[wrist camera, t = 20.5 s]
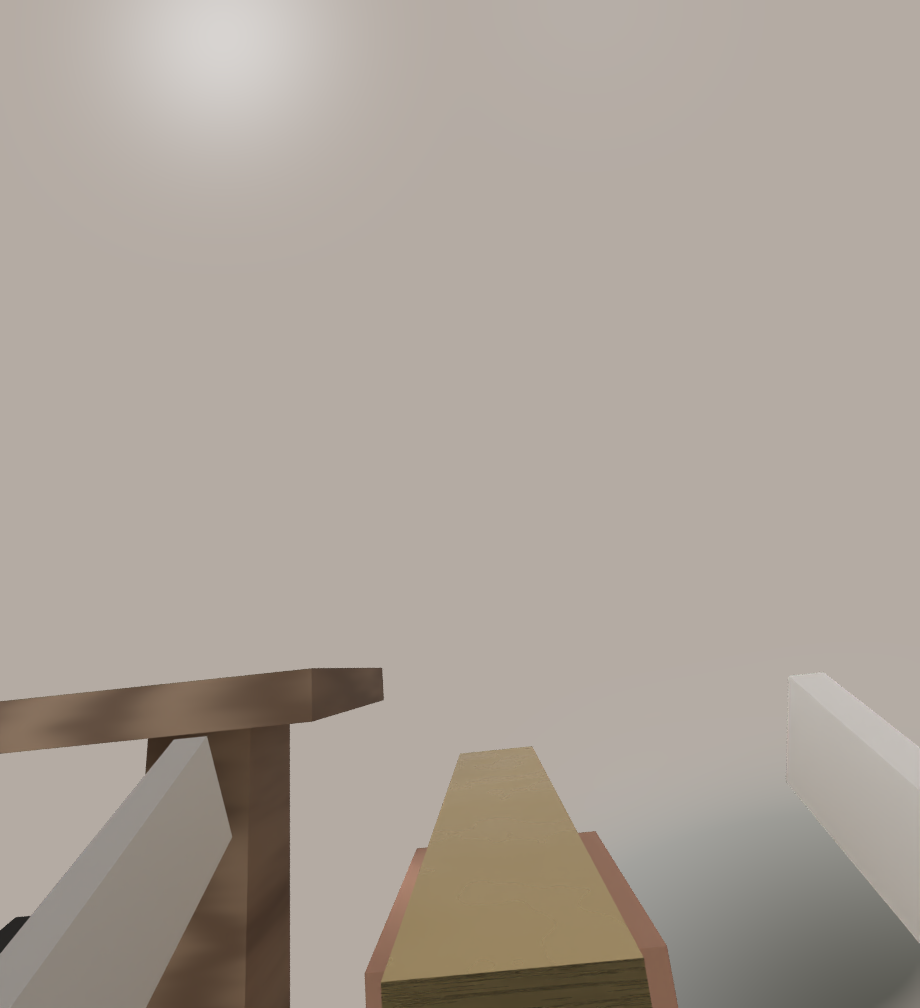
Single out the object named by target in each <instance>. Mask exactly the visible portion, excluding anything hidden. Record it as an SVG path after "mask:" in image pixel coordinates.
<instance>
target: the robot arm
mask: <svg viewBox="0 0 920 1008" xmlns="http://www.w3.org/2000/svg"><path fill="white" fill-rule="evenodd" d="M786 766H787V767H786V783H787V784H788V785H789V786H790V788H791V789H792V790H793V791H794V792H795V794H796V795H797V796H798V797H799V798H800V800H802V802H803V803H804V804H805V806H806V807H807V808H808V809H809V810H810V812H811V813H812V814H813V815H814V816H815V818H816V819H817V820H818V821H819V822H820V824H821V825H822V826H823V827H824V829H825V830H826V831H827V832H828V833H829V835H830V836H831V837H832V838H833V839H834V841H835V842H836V843H837V844H838V845H839V847H840V848H841V849H842V850H843V851H844V853H845V854H846V855H847V856H848V858H849V859H850V860H851V861H852V862H853V864H854V865H855V866H856V867H857V868H858V870H859V871H860V872H861V873H862V874H863V876H864V877H865V878H866V879H867V880H868V882H869V883H870V884H871V885H872V886H873V888H874V889H875V890H876V891H877V893H878V894H879V895H880V896H881V897H882V898H883V900H884V901H885V902H886V903H887V905H888V906H889V907H890V908H891V909H892V911H893V912H894V913H895V914H896V915H897V917H898V918H899V919H900V920H901V921H902V923H903V924H904V925H905V926H906V927H907V929H908V930H909V931H910V932H911V934H912V935H913V936H914V937H915V938H916V940H917V941H918V942H919V943H920V747H918V746H917V745H916V744H915V743H913V742H912V741H911V740H910V739H908V738H907V737H906V736H905V735H903V734H902V733H901V732H899V731H898V730H897V729H896V728H894V727H893V726H892V725H890V724H889V723H888V722H887V721H885V720H884V719H883V718H881V717H880V716H879V715H878V714H876V713H875V712H874V711H872V710H871V709H870V708H868V707H867V706H866V705H865V704H863V703H862V702H861V701H860V700H858V699H857V698H856V697H855V696H853V695H852V694H851V693H849V692H848V691H847V690H846V689H844V688H843V687H842V686H840V685H839V684H838V683H836V682H835V681H834V680H833V679H832V678H830V677H829V676H828V675H826V674H825V673H823V672H821V673H811V674H802V675H792V676H789V681H788V724H787V765H786ZM231 838H232V834H231V830H230V826H229V822H228V818H227V814H226V810H225V806H224V802H223V798H222V794H221V790H220V786H219V782H218V778H217V774H216V770H215V766H214V762H213V758H212V754H211V750H210V746H209V742H208V738H207V736H204V737H194V738H184V739H175V740H173V741H172V743H171V744H170V745H169V746H168V748H167V749H166V750H165V751H164V752H163V754H162V755H161V756H160V757H159V759H158V760H157V761H156V762H155V764H154V765H153V766H152V767H151V768H150V770H149V771H148V772H147V773H146V775H145V776H144V777H143V778H142V780H141V781H140V782H139V783H138V785H137V786H136V787H135V788H134V790H133V791H132V792H131V793H130V794H129V796H128V797H127V798H126V800H125V801H124V802H123V803H122V804H121V806H120V807H119V808H118V809H117V810H116V812H115V813H114V814H113V815H112V817H111V818H110V819H109V820H108V821H107V823H106V824H105V825H104V827H103V828H102V829H101V830H100V831H99V833H98V834H97V835H96V836H95V838H94V839H93V840H92V841H91V842H90V844H89V845H88V846H87V847H86V849H85V850H84V851H83V853H82V854H81V855H80V856H79V857H78V858H77V860H76V861H75V862H74V863H73V865H72V866H71V867H70V868H69V870H68V871H67V872H66V873H65V874H64V876H63V877H62V878H61V880H60V881H59V882H58V883H57V884H56V886H55V887H54V888H53V889H52V891H51V892H50V893H49V894H48V895H47V897H46V898H45V899H44V901H43V902H42V903H41V904H40V905H39V907H38V908H37V909H36V910H35V911H34V913H33V914H32V915H31V916H26V917H16V918H14V919H13V920H12V921H11V922H10V923H9V924H7V925H6V926H5V927H4V928H3V929H1V930H0V1008H146V1007H147V1005H148V1003H149V1001H150V999H151V997H152V995H153V993H154V991H155V989H156V987H157V985H158V983H159V981H160V979H161V977H162V975H163V973H164V971H165V969H166V967H167V965H168V963H169V961H170V959H171V957H172V955H173V953H174V951H175V949H176V947H177V945H178V943H179V941H180V939H181V937H182V935H183V933H184V931H185V930H186V928H187V926H188V924H189V922H190V920H191V918H192V916H193V914H194V912H195V910H196V908H197V906H198V904H199V902H200V900H201V898H202V896H203V894H204V892H205V890H206V888H207V886H208V884H209V882H210V880H211V878H212V876H213V874H214V872H215V870H216V868H217V866H218V864H219V862H220V860H221V858H222V856H223V854H224V852H225V850H226V848H227V846H228V844H229V842H230V840H231Z"/></svg>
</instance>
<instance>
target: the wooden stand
mask: <svg viewBox="0 0 920 1008" xmlns="http://www.w3.org/2000/svg"><path fill="white" fill-rule="evenodd" d="M383 699H384V696H383V678H382V668H317V669H316V668H312V669H302V670H293V671H283V672H273V673H264V674H255V675H245V676H236V677H226V678H217V679H208V680H198V681H189V682H179V683H170V684H160V685H151V686H141V687H132V688H122V689H113V690H103V691H95V692H85V693H76V694H66V695H57V696H47V697H38V698H28V699H19V700H9V701H0V754H1V753H11V752H21V751H31V750H40V749H50V748H59V747H70V746H79V745H89V744H99V743H108V742H118V741H127V740H138V739H147V738H148V748H147V761H146V773H147V772H148V771H149V770H150V768H151V767H152V766H153V765H154V764H155V762H156V761H157V760H158V759H159V757H160V756H161V755H162V754H163V752H164V751H165V750H166V749H167V748H168V746H169V745H170V744H171V743H172V741H173V740H175V739H184V738H194V737H204V736H207V738H208V742H209V746H210V750H211V754H212V758H213V762H214V766H215V770H216V774H217V778H218V782H219V786H220V790H221V794H222V798H223V802H224V806H225V810H226V814H227V818H228V822H229V826H230V830H231V834H232V838H231V840H230V842H229V844H228V846H227V848H226V850H225V852H224V854H223V856H222V858H221V860H220V862H219V864H218V866H217V868H216V870H215V872H214V874H213V876H212V878H211V880H210V882H209V884H208V886H207V888H206V890H205V892H204V894H203V896H202V898H201V900H200V902H199V904H198V906H197V908H196V910H195V912H194V914H193V916H192V918H191V920H190V922H189V924H188V926H187V928H186V930H185V931H184V933H183V935H182V937H181V939H180V941H179V943H178V945H177V947H176V949H175V951H174V953H173V955H172V957H171V959H170V961H169V963H168V965H167V967H166V969H165V971H164V973H163V975H162V977H161V979H160V981H159V983H158V985H157V987H156V989H155V991H154V993H153V995H152V997H151V999H150V1001H149V1003H148V1005H147V1007H146V1008H290V724H293V723H302V722H312V721H316V720H319V719H322V718H326V717H328V716H332V715H335V714H339V713H342V712H345V711H349V710H352V709H355V708H359V707H362V706H365V705H368V704H372V703H375V702H379V701H382V700H383ZM145 775H146V774H145Z"/></svg>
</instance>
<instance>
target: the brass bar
mask: <svg viewBox="0 0 920 1008" xmlns="http://www.w3.org/2000/svg"><path fill="white" fill-rule="evenodd" d="M381 998H382V1008H652V1003H651V997H650V992H649V986H648V980H647V974H646V968H645V962H644V957H643V955H642V954H641V952H640V950H639V948H638V946H637V944H636V942H635V940H634V938H633V936H632V935H631V933H630V931H629V929H628V927H627V925H626V923H625V921H624V919H623V918H622V916H621V914H620V912H619V910H618V908H617V906H616V904H615V902H614V901H613V899H612V897H611V895H610V893H609V891H608V889H607V887H606V885H605V884H604V882H603V880H602V878H601V876H600V874H599V872H598V870H597V868H596V866H595V865H594V863H593V861H592V859H591V857H590V855H589V853H588V851H587V849H586V848H585V846H584V844H583V842H582V840H581V838H580V836H579V834H578V832H577V831H576V829H575V827H574V825H573V823H572V821H571V819H570V817H569V816H568V813H567V812H566V810H565V808H564V806H563V804H562V802H561V800H560V798H559V796H558V795H557V793H556V791H555V789H554V787H553V785H552V783H551V782H550V780H549V778H548V776H547V774H546V772H545V770H544V768H543V766H542V764H541V762H540V761H539V759H538V757H537V755H536V753H535V751H534V749H533V747H532V746H531V747H521V748H511V749H502V750H492V751H482V752H473V753H463V754H460V756H459V759H458V761H457V764H456V767H455V770H454V773H453V776H452V779H451V781H450V784H449V787H448V790H447V793H446V796H445V799H444V802H443V804H442V807H441V810H440V813H439V816H438V819H437V822H436V825H435V828H434V830H433V833H432V836H431V839H430V842H429V845H428V848H427V851H426V853H425V856H424V859H423V862H422V865H421V868H420V871H419V874H418V876H417V879H416V882H415V885H414V888H413V891H412V894H411V897H410V899H409V902H408V905H407V908H406V911H405V914H404V917H403V920H402V923H401V925H400V928H399V931H398V934H397V937H396V940H395V943H394V946H393V948H392V951H391V954H390V957H389V960H388V963H387V966H386V969H385V971H384V974H383V977H382V980H381Z"/></svg>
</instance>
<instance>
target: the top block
mask: <svg viewBox="0 0 920 1008" xmlns="http://www.w3.org/2000/svg"><path fill="white" fill-rule="evenodd" d="M578 834H579V836H580V838H581V840H582V842H583V844H584V846H585V848H586V849H587V851H588V853H589V855H590V857H591V859H592V861H593V863H594V865H595V866H596V868H597V870H598V872H599V874H600V876H601V878H602V880H603V882H604V884H605V885H606V887H607V889H608V891H609V893H610V895H611V897H612V899H613V901H614V902H615V904H616V906H617V908H618V910H619V912H620V914H621V916H622V918H623V919H624V921H625V923H626V925H627V927H628V929H629V931H630V933H631V935H632V936H633V938H634V940H635V942H636V944H637V946H638V948H639V950H640V952H641V954H642V955H643V957H644V962H645V968H646V974H647V980H648V986H649V992H650V997H651V1003H652V1008H678V1004H677V998H676V993H675V988H674V982H673V976H672V972H671V965H670V960H669V955H668V949H667V945H666V944H665V942H664V941H663V939H662V938H661V936H660V934H659V933H658V931H657V929H656V928H655V927H654V925H653V923H652V921H651V920H650V918H649V916H648V915H647V913H646V912H645V910H644V908H643V907H642V905H641V904H640V902H639V901H638V899H637V897H636V896H635V894H634V892H633V891H632V889H631V888H630V886H629V884H628V883H627V881H626V880H625V878H624V876H623V875H622V873H621V872H620V870H619V869H618V867H617V865H616V864H615V862H614V860H613V859H612V857H611V856H610V854H609V852H608V851H607V849H606V848H605V846H604V844H603V843H602V841H601V840H600V838H599V836H598V835H597V833H596V832H595V831H593V832H583V833H578ZM427 848H428V847H427ZM427 848H418V849H417V850H416V852H415V855H414V857H413V859H412V862H411V864H410V866H409V869H408V871H407V874H406V876H405V879H404V881H403V883H402V886H401V888H400V890H399V893H398V895H397V898H396V900H395V902H394V905H393V907H392V909H391V912H390V914H389V917H388V919H387V921H386V924H385V926H384V929H383V931H382V934H381V936H380V938H379V941H378V943H377V945H376V948H375V950H374V952H373V955H372V957H371V960H370V962H369V965H368V967H367V969H366V972H365V992H366V1008H382V998H381V980H382V977H383V974H384V971H385V969H386V966H387V963H388V960H389V957H390V954H391V951H392V948H393V946H394V943H395V940H396V937H397V934H398V931H399V928H400V925H401V923H402V920H403V917H404V914H405V911H406V908H407V905H408V902H409V899H410V897H411V894H412V891H413V888H414V885H415V882H416V879H417V876H418V874H419V871H420V868H421V865H422V862H423V859H424V856H425V853H426V851H427Z"/></svg>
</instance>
